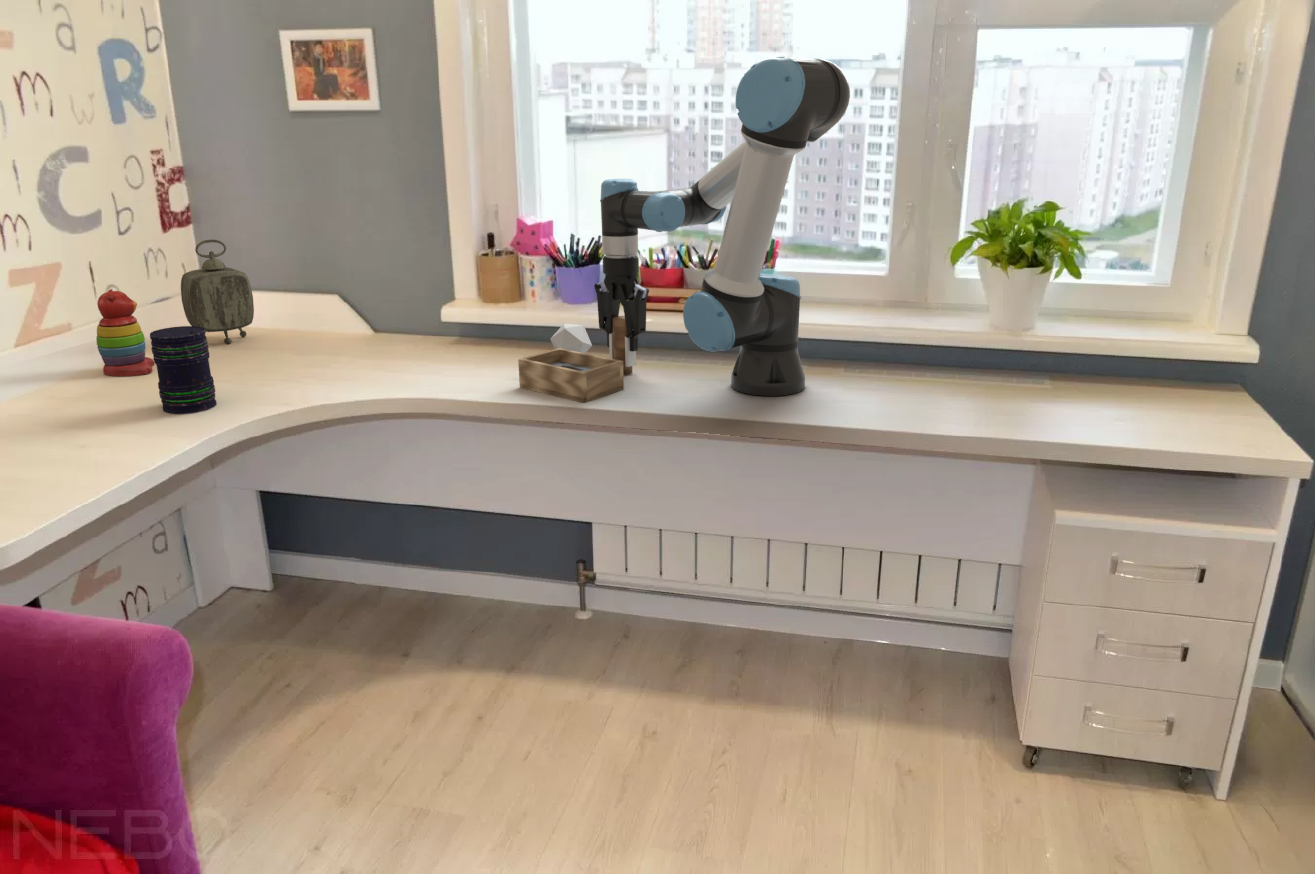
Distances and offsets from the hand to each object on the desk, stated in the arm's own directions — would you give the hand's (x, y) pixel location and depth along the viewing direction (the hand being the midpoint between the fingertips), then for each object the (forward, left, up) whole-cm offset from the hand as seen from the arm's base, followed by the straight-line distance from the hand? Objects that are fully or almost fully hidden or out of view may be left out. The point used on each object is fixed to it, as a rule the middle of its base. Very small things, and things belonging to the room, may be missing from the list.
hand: (623, 363), depth 216 cm
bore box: (0, +16, -2) cm, 16 cm away
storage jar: (+50, +71, -2) cm, 87 cm away
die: (+17, -2, -2) cm, 18 cm away
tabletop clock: (+95, +39, -2) cm, 103 cm away
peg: (0, 0, -2) cm, 2 cm away
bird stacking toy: (+87, +66, -2) cm, 109 cm away
